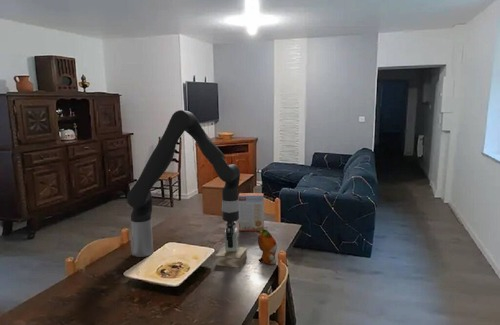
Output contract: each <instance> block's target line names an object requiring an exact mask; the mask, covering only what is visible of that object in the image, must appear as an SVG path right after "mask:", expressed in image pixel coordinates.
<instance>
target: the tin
mask: <svg viewBox="0 0 500 325" xmlns="http://www.w3.org/2000/svg"><path fill="white" fill-rule="evenodd" d="M232 232H233V231H232ZM223 233H224V245H225V251H236V250H237V247H239V245H238V227H235V229H234V234H233V247H232V248H228V240H227V239H226V228H225V230H224V232H223ZM229 237H231V236H229Z"/></svg>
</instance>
